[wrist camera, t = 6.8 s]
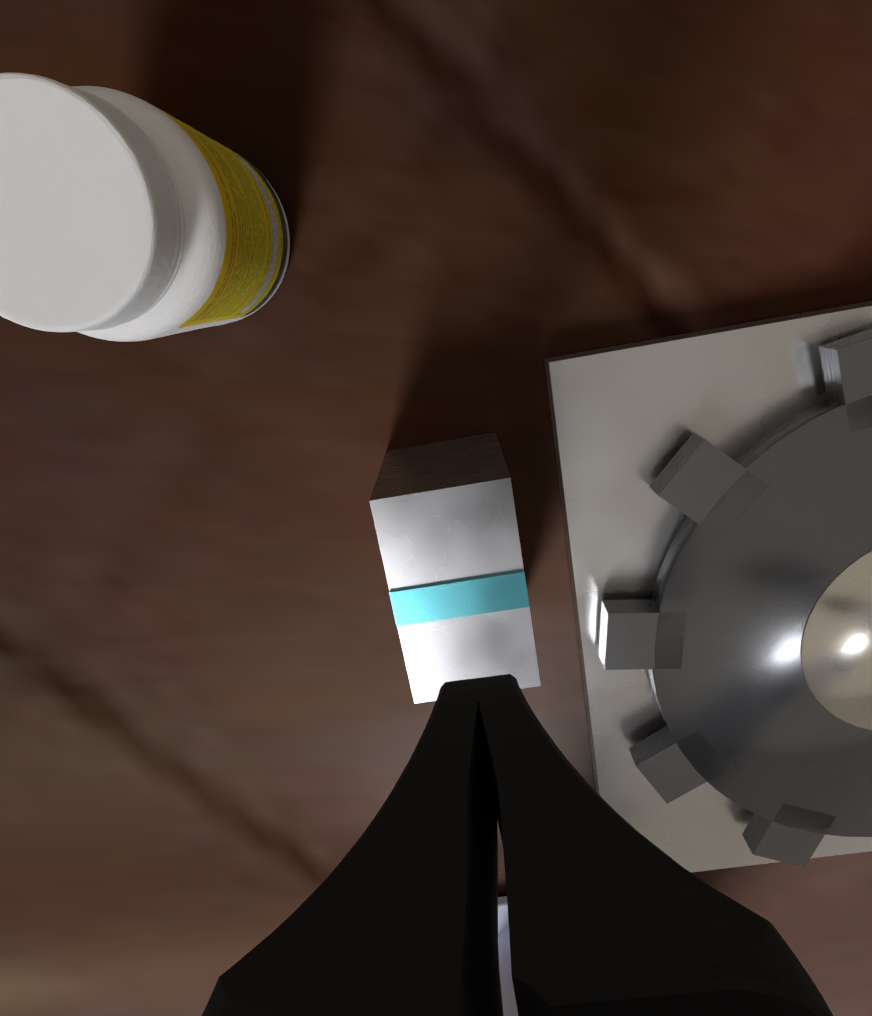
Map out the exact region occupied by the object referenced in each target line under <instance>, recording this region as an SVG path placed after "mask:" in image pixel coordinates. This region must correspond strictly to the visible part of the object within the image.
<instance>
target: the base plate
mask: <svg viewBox="0 0 872 1016" xmlns="http://www.w3.org/2000/svg"><path fill="white" fill-rule="evenodd" d="M869 329H872V301H867V302H861V303H855V304H850V305H844V306H838V307H833V308H827V309H821V310H816V311H810V312H804V313H799V314H793V315H787V316H782V317H776V318H770V319H765V320H759V321H753V322H748V323H742V324H736V325H731V326H725V327H719V328H714V329H708V330H702V331H697V332H691V333H685V334H680V335H674V336H668V337H663V338H657V339H651V340H645V341H640V342H634V343H628V344H623V345H617V346H611V347H606V348H600V349H594V350H589V351H583V352H577V353H572V354H566V355H560V356H555V357H549V358H544V363H545V372H546V380H547V388H548V397H549V405H550V413H551V422H552V430H553V438H554V447H555V455H556V464H557V472H558V480H559V489H560V497H561V505H562V514H563V522H564V530H565V539H566V547H567V555H568V564H569V572H570V580H571V589H572V597H573V605H574V614H575V622H576V630H577V639H578V647H579V655H580V664H581V672H582V680H583V689H584V697H585V705H586V714H587V722H588V730H589V739H590V747H591V755H592V764H593V772H594V780H595V789H596V792H597V793H598V794H599V795H600V796H601V797H602V798H603V799H604V800H605V801H606V802H607V803H608V804H609V805H610V806H611V807H612V808H613V809H614V810H615V811H616V812H617V813H618V814H619V815H620V816H621V817H622V818H624V819H625V820H626V821H627V822H628V823H629V824H630V825H631V826H632V827H633V828H635V829H636V830H637V831H638V832H639V833H640V834H642V835H643V836H644V837H646V838H647V839H648V840H649V841H651V842H652V843H653V844H654V845H656V846H657V847H658V848H659V849H661V850H662V851H663V852H664V853H666V854H667V855H668V856H669V857H671V858H672V859H673V860H674V861H676V862H677V863H678V864H679V865H681V866H682V867H684V868H685V869H686V870H688V871H689V872H699V871H708V870H716V869H724V868H733V867H741V866H750V865H758V864H767V863H775V862H781V861H777V860H773V859H769V858H764V857H760V856H756V855H753V854H752V852H751V850H750V848H749V847H748V845H747V843H746V841H745V839H744V837H743V835H742V833H743V832H744V830H745V828H746V826H747V825H748V823H749V821H750V819H751V818H752V816H753V814H754V813H752V812H750V811H748V810H747V809H745V808H743V807H741V806H739V805H737V804H736V803H734V802H733V801H731V800H730V799H728V798H727V797H726V796H724V795H723V794H721V793H720V792H719V791H717V790H716V789H715V788H714V787H713V786H712V785H710V784H709V783H708V782H706V783H704V784H702V785H700V786H698V787H697V788H695V789H693V790H691V791H689V792H688V793H686V794H684V795H682V796H680V797H679V798H677V799H675V800H673V801H671V802H669V803H668V804H667V803H666V802H665V801H664V800H663V798H662V797H661V796H660V795H659V794H658V792H657V791H656V790H655V789H654V788H653V786H652V785H651V784H650V783H649V782H648V780H647V779H646V778H645V777H644V775H643V774H642V773H641V772H640V771H639V769H638V768H637V767H636V765H635V763H634V760H633V758H632V755H631V753H630V750H629V747H631V746H633V745H635V744H636V743H638V742H640V741H641V740H643V739H645V738H647V737H648V736H650V735H652V734H653V733H655V732H657V731H659V730H660V729H662V728H664V727H665V726H667V724H666V722H665V720H664V718H663V716H662V714H661V712H660V709H659V707H658V704H657V701H656V698H655V695H654V692H653V689H652V687H651V681H650V676H649V670H648V669H630V670H605V669H604V667H603V664H602V662H601V659H600V657H599V637H600V620H601V602H602V600H631V599H651V598H652V594H653V590H654V587H655V583H656V579H657V576H658V573H659V571H660V568H661V566H662V564H663V561H664V559H665V557H666V554H667V552H668V550H669V547H670V545H671V543H672V541H673V540H674V538H675V536H676V535H677V533H678V531H679V529H680V528H681V526H682V524H683V523H684V521H685V519H686V518H687V515H685V514H684V513H682V512H681V511H679V510H678V509H677V508H675V507H674V506H672V505H671V504H669V503H668V502H667V501H665V500H664V499H662V498H661V497H659V496H658V495H657V494H656V493H655V492H654V491H653V490H652V489H651V488H650V487H649V486H650V485H651V483H652V482H653V481H654V480H655V479H656V477H657V476H658V475H659V474H660V473H661V471H662V470H663V469H664V468H665V466H666V465H667V464H668V463H669V462H670V460H671V459H672V458H673V457H674V456H675V454H676V453H677V452H678V451H679V450H680V448H681V447H682V446H683V445H684V444H685V442H686V441H687V440H688V439H689V438H690V436H691V435H692V434H693V433H696V434H698V435H699V436H701V437H702V438H704V439H706V440H707V441H708V442H710V443H711V444H712V445H714V446H715V447H717V448H718V449H719V450H721V451H722V452H723V453H725V454H726V455H728V456H729V457H730V458H732V459H733V460H734V461H735V460H736V459H737V458H739V457H740V456H741V455H742V454H744V453H745V452H746V451H747V450H748V449H750V448H751V447H752V446H753V445H755V444H756V443H757V442H758V441H759V440H761V439H762V438H763V437H764V436H766V435H767V434H769V433H770V432H772V431H773V430H775V429H776V428H778V427H779V426H781V425H782V424H784V423H786V422H787V421H789V420H790V419H792V418H793V417H795V416H796V415H798V414H800V413H802V412H804V411H806V410H808V409H810V408H812V407H814V406H816V405H818V404H820V403H822V402H824V401H826V400H828V399H827V393H826V387H825V381H824V375H823V369H822V363H821V357H820V351H819V346H822V345H825V344H828V343H831V342H834V341H837V340H839V339H842V338H845V337H848V336H851V335H854V334H857V333H860V332H863V331H866V330H869ZM868 851H872V837H843V836H834V835H826V834H825V836H824V837H823V839H822V841H821V842H820V844H819V845H818V847H817V848H816V850H815V852H814V853H813V855H812V856H811V858H817V857H825V856H834V855H842V854H851V853H859V852H868Z"/></svg>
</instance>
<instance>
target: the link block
mask: <svg viewBox="0 0 872 1016" xmlns="http://www.w3.org/2000/svg"><path fill="white" fill-rule="evenodd" d="M370 506H371V510H372V515H373V519H374V524H375V528H376V533H377V537H378V542H379V546H380V551H381V555H382V560H383V564H384V569H385V573H386V578H387V582H388V587H389V594H390V599H391V603H392V608H393V612H394V617H395V621H396V626H397V627H398V632H399V636H400V641H401V645H402V650H403V654H404V659H405V664H406V668H407V673H408V677H409V682H410V686H411V691H412V695H413V700H414V704H416V703H423V702H430V701H436V700H437V697H438V694H439V691H440V688H441V687H442V685H443V684H444V683H445V682H450V681H458V680H465V679H473V678H481V677H489V676H497V675H505V674H511V675H512V676H514V677H515V678H516V679H517V682H518V685H519V687H520V689H522V688H529V687H536V686H541V684H540V678H539V671H538V664H537V657H536V650H535V643H534V636H533V629H532V622H531V615H530V609H529V600H528V593H527V586H526V580H525V573H524V567H523V560H522V553H521V546H520V539H519V533H518V526H517V519H516V512H515V505H514V498H513V491H512V484H511V478H510V474H509V471H508V468H507V465H506V462H505V459H504V456H503V453H502V450H501V447H500V444H499V441H498V438H497V435H496V432H495V433H489V434H483V435H477V436H471V437H465V438H459V439H453V440H447V441H441V442H436V443H430V444H424V445H418V446H412V447H406V448H400V449H394V450H388V451H386V453H385V456H384V459H383V462H382V465H381V468H380V471H379V474H378V477H377V480H376V483H375V486H374V489H373V492H372V495H371V498H370Z"/></svg>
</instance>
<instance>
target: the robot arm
mask: <svg viewBox="0 0 872 1016" xmlns="http://www.w3.org/2000/svg"><path fill="white" fill-rule="evenodd" d="M497 819H498V824H499V829H500V834H501V839H502V844H503V849H504V862H505V876H506V890H507V896H504V897H498V841H497ZM202 1016H833V1015H832V1013H831V1011H830V1009H829V1007H828V1005H827V1004H826V1002H825V1000H824V998H823V997H822V995H821V994H820V992H819V990H818V989H817V987H816V986H815V984H814V983H813V981H812V980H811V978H810V976H809V975H808V974H807V972H806V971H805V969H804V968H803V966H802V965H801V963H800V962H799V960H798V959H797V957H796V956H795V954H794V953H793V952H792V950H791V949H790V948H789V946H788V945H787V943H786V942H785V941H784V939H783V938H782V937H781V935H780V934H779V933H778V931H777V930H776V929H775V928H774V926H773V925H772V924H771V923H770V922H769V921H767V920H766V919H764V918H763V917H761V916H759V915H757V914H756V913H754V912H752V911H751V910H749V909H747V908H746V907H744V906H742V905H741V904H739V903H737V902H736V901H734V900H732V899H731V898H729V897H727V896H726V895H724V894H722V893H721V892H719V891H717V890H716V889H714V888H712V887H711V886H709V885H708V884H706V883H705V882H703V881H702V880H701V879H699V878H698V877H696V876H695V875H694V874H692V873H691V872H689V871H688V870H686V869H685V868H684V867H682V866H681V865H679V864H678V863H677V862H676V861H674V860H673V859H672V858H671V857H669V856H668V855H667V854H666V853H664V852H663V851H662V850H661V849H659V848H658V847H657V846H656V845H654V844H653V843H652V842H651V841H649V840H648V839H647V838H646V837H644V836H643V835H642V834H640V833H639V832H638V831H637V830H636V829H635V828H633V827H632V826H631V825H630V824H629V823H628V822H627V821H626V820H625V819H624V818H622V817H621V816H620V815H619V814H618V813H617V812H616V811H615V810H614V809H613V808H612V807H611V806H610V805H609V804H608V803H607V802H606V801H605V800H604V799H603V798H602V797H601V796H600V795H599V794H598V793H597V792H596V791H595V790H594V789H593V788H592V787H591V786H590V785H589V784H588V783H587V782H586V781H585V779H584V778H583V777H582V776H581V775H580V774H579V773H578V772H577V770H576V769H575V768H574V767H573V766H572V764H571V763H570V762H569V761H568V760H567V759H566V757H565V756H564V755H563V754H562V752H561V751H560V750H559V748H558V747H557V746H556V745H555V743H554V742H553V740H552V739H551V738H550V736H549V735H548V733H547V732H546V731H545V729H544V728H543V727H542V725H541V724H540V722H539V721H538V719H537V718H536V716H535V714H534V713H533V711H532V709H531V708H530V706H529V705H528V703H527V701H526V699H525V697H524V695H523V693H522V691H521V689H520V687H519V685H518V682H517V679H516V678H515V677H514V676H512V675H511V674H505V675H497V676H489V677H481V678H473V679H465V680H458V681H450V682H445V683H444V684H443V685H442V687H441V688H440V691H439V694H438V697H437V700H436V703H435V706H434V708H433V711H432V713H431V716H430V718H429V720H428V723H427V725H426V727H425V730H424V732H423V734H422V736H421V738H420V740H419V742H418V744H417V746H416V748H415V750H414V752H413V754H412V756H411V758H410V760H409V762H408V764H407V766H406V767H405V769H404V771H403V773H402V774H401V776H400V778H399V779H398V781H397V783H396V785H395V786H394V788H393V790H392V792H391V793H390V795H389V796H388V798H387V800H386V801H385V803H384V804H383V806H382V807H381V809H380V810H379V812H378V813H377V815H376V816H375V818H374V819H373V820H372V822H371V823H370V825H369V826H368V827H367V829H366V830H365V832H364V833H363V834H362V836H361V837H360V838H359V840H358V841H357V842H356V843H355V845H354V846H353V847H352V848H351V850H350V851H349V852H348V853H347V855H346V856H345V857H344V858H343V860H342V861H341V862H340V863H339V865H338V866H337V867H336V868H335V869H334V870H333V872H332V873H331V874H330V875H329V876H328V877H327V878H326V880H325V881H324V882H323V883H322V884H321V885H320V886H319V887H318V888H317V889H316V890H315V891H314V892H313V893H312V894H311V895H310V896H309V897H308V898H307V899H306V900H305V901H304V902H303V903H302V905H301V906H300V907H299V908H298V909H297V910H296V911H295V912H294V913H293V914H292V915H291V916H290V917H289V918H288V919H287V920H285V921H284V922H283V923H282V924H281V925H280V926H279V927H278V928H277V929H276V930H275V931H274V932H272V933H271V934H270V935H269V936H268V937H266V938H265V939H264V940H263V941H262V942H261V943H259V944H258V945H257V946H256V947H255V948H254V949H252V950H251V951H250V952H249V953H248V954H246V955H245V956H244V957H243V958H242V959H241V960H239V961H238V962H237V963H236V964H235V965H234V966H232V967H231V968H230V969H229V970H227V971H226V972H225V973H224V974H222V975H221V976H220V977H219V979H218V981H217V983H216V986H215V988H214V990H213V992H212V995H211V997H210V999H209V1002H208V1004H207V1006H206V1008H205V1010H204V1012H203V1014H202Z"/></svg>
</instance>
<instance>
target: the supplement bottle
mask: <svg viewBox="0 0 872 1016" xmlns="http://www.w3.org/2000/svg"><path fill="white" fill-rule="evenodd" d="M289 253H290V236H289V228H288V223H287V219H286V215H285V212H284V209H283V206H282V204H281V202H280V200H279V198H278V196H277V194H276V192H275V190H274V189H273V187H272V186H271V184H270V183H269V181H268V180H267V179H266V178H265V177H264V175H263V174H262V173H261V172H260V171H259V170H258V169H257V168H256V167H255V166H254V165H253V164H252V163H251V162H249V161H248V160H247V159H245V158H244V157H242V156H241V155H239V154H237V153H235V152H234V151H232V150H231V149H229V148H227V147H225V146H223V145H222V144H220V143H218V142H217V141H215V140H213V139H212V138H210V137H208V136H206V135H204V134H202V133H201V132H199V131H198V130H196V129H194V128H193V127H191V126H189V125H187V124H186V123H183V122H182V121H180V120H178V119H176V118H175V117H173V116H171V115H170V114H168V113H166V112H165V111H163V110H162V109H160V108H158V107H156V106H154V105H152V104H151V103H149V102H147V101H144V100H141V99H139V98H137V97H135V96H133V95H130V94H127V93H124V92H121V91H117V90H113V89H109V88H105V87H96V86H75V87H70V86H68V85H65V84H62V83H60V82H58V81H55V80H52V79H49V78H46V77H42V76H38V75H33V74H25V73H0V316H2V317H4V318H6V319H8V320H10V321H13V322H15V323H18V324H20V325H23V326H26V327H29V328H33V329H37V330H42V331H50V332H79V333H81V334H85V335H88V336H91V337H94V338H99V339H104V340H110V341H143V340H150V339H155V338H159V337H163V336H168V335H173V334H177V333H182V332H187V331H192V330H196V329H201V328H206V327H211V326H218V325H224V324H227V323H230V322H234V321H238V320H241V319H243V318H245V317H247V316H249V315H251V314H253V313H254V312H256V311H257V310H258V309H260V308H261V307H262V306H263V305H265V304H266V303H267V302H268V301H269V300H270V299H271V297H272V296H273V295H274V294H275V292H276V291H277V289H278V288H279V286H280V284H281V282H282V280H283V278H284V275H285V272H286V269H287V265H288V261H289Z"/></svg>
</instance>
